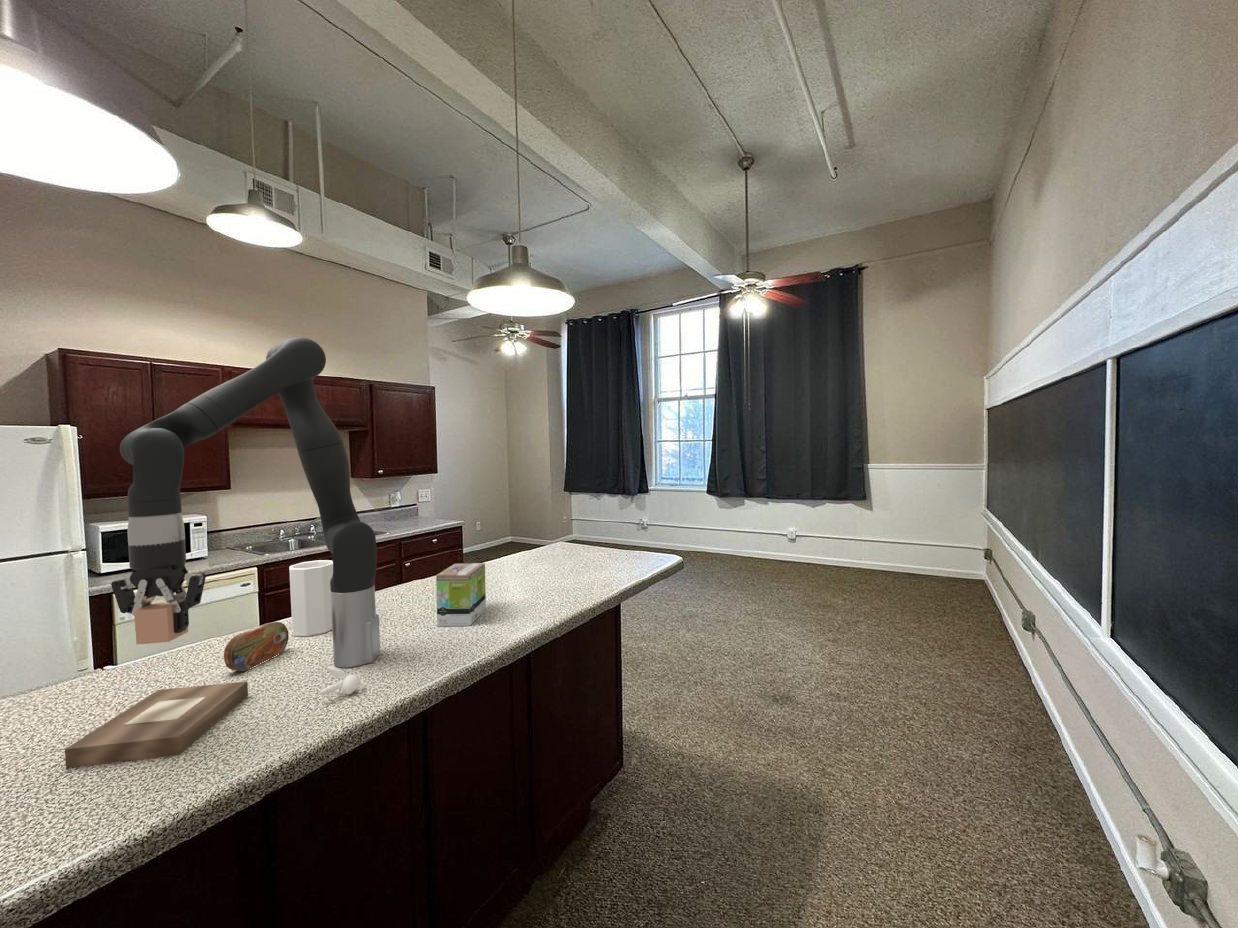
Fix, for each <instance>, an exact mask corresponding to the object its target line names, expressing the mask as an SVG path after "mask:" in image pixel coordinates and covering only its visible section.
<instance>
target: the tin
mask: <svg viewBox="0 0 1238 928" xmlns="http://www.w3.org/2000/svg"><path fill="white" fill-rule="evenodd" d="M289 637H290V636H289V629H288V627H287V626H286V625H285V623H283V622H280V621H273V622H266V623H264V624H261V625H259V626H256V627H254V628H251V629H249V630H247V631H244V632H242V633H239V634H237V635H235V636H234V637H232V638H231V639H230V640H229V641H228V643H227V644H226V645H225V647H224V651H223V659H224V663H225V666H226V667H227V668H228V669H229V670H232V671H239V672H246V670H248V669H250V668H252V667H254V666H256V665H258V664H260V663H262V662H264V661H266V660H268V659H270V658H272V657H274V656H276V655H278V654H280V655H281V654H282V653H283V652H284V651H285V649H286V647H287V644H288V642H289ZM278 656H279V655H278ZM270 660H271V659H270ZM268 661H269V660H268ZM266 662H267V661H266ZM264 663H265V662H264ZM262 664H263V663H262ZM260 665H261V664H260ZM258 666H259V665H258ZM256 667H257V666H256ZM254 668H255V667H254ZM252 669H253V668H252ZM250 670H251V669H250ZM248 671H249V670H248Z"/></svg>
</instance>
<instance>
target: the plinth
mask: <svg viewBox="0 0 1238 928" xmlns="http://www.w3.org/2000/svg"><path fill="white" fill-rule="evenodd" d="M248 689H249V687H248V680H247V681H237V682H228V683H227V682H226V683H217V684H206V685H195V686H185V687H175V688H165V689H164V688H163V689H162V688H161V689H157V690H156V691H154V692H153V693H150V694H149V695H147V696H146V697H144V698H143V699H141V700H140V701H138V702H137V703H135V704H134V705H132V706H130V707H129V708H127V709H125V710H124V711H123V712H121V713H119V714H118V715H116V716H115V717H113V718H111V719H110V720H109V721H107V722H105V723H104V724H102V725H101V726H99V727H97V728H96V729H94V730H93V731H91V732H89V733H88V734H87V735H85V736H83V737H82V738H80V739H79V740H76V742H74V743H72V744H71V745H69V746H68V747H66V748H64V756H65V757H64V758H65V768H73V767H74V768H76V767H85V766H93V765H101V764H108V763H109V764H111V763H118V762H119V763H120V762H125V761H136V760H143V759H145V760H146V759H153V758H160V757H170V756H171V757H172V756H179V755H181V754H182V753H183V752H184V751H186V750H187V749H188V748H189V747H190V746H191V745H193V744H194V743H195V742H196V741H197V740H198V739H199V738H200V737H202V736H203V735H204V734H206V733H207V732H208V731H209V730H210V729H211V728H212V727H214V726H215V725H216V724H217V723H219V722H220V720H221V719H223V718H224V717H225V716H227V715H228V714H229V713H230V712H231V711H232V710H233V709H235V708H236V707H237V706H238V705H239V704H241V703H242V702H243V701H244V700H245V699H246V698H248V696H249V690H248Z"/></svg>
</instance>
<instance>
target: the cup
mask: <svg viewBox="0 0 1238 928" xmlns="http://www.w3.org/2000/svg"><path fill="white" fill-rule="evenodd" d="M288 568H289V569H288V570H289V586H290V587H289V589H290V592H289V593H290V605H291V606H290V609H291V627H292V630H291V631H293V632H292V636H293V637H305V636H308V637H312V635H313V636H317V634H318V635H321V634H322V633H323V634H326V633H329V632H330V631H332V613H331V590H330V580H331V578H332V576H333V559H331V560H329V559H324V560H323V559H319V560H311V561H302V562H299V563H296V564H292V565H290V566H289V567H288Z"/></svg>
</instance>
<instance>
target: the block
mask: <svg viewBox="0 0 1238 928" xmlns="http://www.w3.org/2000/svg"><path fill="white" fill-rule="evenodd" d="M173 613H175V612H174V611H173V609H172V606H171V605H170V603H169V602H166V600H165V601H156V602H152V604H151V605H147V606H145V607H143V608H140V609H137V610H135V617H134V624H135V625H134V629H135V628H136V631H135V642H136V643H135V644H136V645H137V646H138V645H145V644H146V645H148V644H162V643H170V642H171V641H173V640H175V639H178V638H179V637H181V636H183V635H184V634H186V633H189V626H188V627H186V630H184V631H182V632H180V633H174V622H173Z"/></svg>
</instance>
